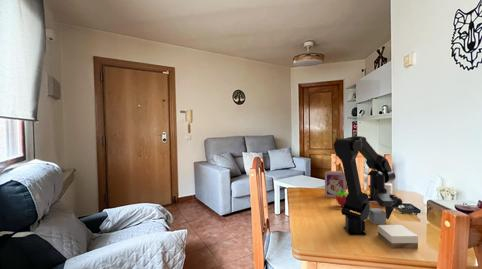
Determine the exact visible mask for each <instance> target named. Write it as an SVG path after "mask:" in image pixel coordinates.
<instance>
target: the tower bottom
mask: <svg viewBox="0 0 482 269" xmlns="http://www.w3.org/2000/svg"><path fill="white" fill-rule="evenodd" d="M377 237H378V238H379V239H380V240H381V241H382V242H384V243H385V244H386V245H387V246H388V247H389V248H391V249H397V250H398V249H400V250H402V249H405V250H407V249H410V250H411V249H412V250H415V249H416V250H417V249H419V242H418V243H391V242H390V241H389V240H387V239H386V238H385V237H384V236H383V235H381V234H380V233H379V232H378V231H377Z"/></svg>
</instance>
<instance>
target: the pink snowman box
mask: <svg viewBox="0 0 482 269" xmlns="http://www.w3.org/2000/svg"><path fill="white" fill-rule="evenodd" d="M342 188H343V189H344V192H345V193H347V192H346V191H347V184H346V179H345V174H344V172H343V170H331V171H324V196H325V197H327V198H336V194H337V193H338V192H342Z"/></svg>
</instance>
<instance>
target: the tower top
mask: <svg viewBox="0 0 482 269" xmlns="http://www.w3.org/2000/svg"><path fill="white" fill-rule="evenodd" d="M378 232H379V233H380V234H381V235H383V236H384V237H385V238H386V239H387V240H389V241H390V242H391V243H418V244H419V235H417V234H416V233H414V232H413V231H412V230H410V229H408V228H407V227H405V226H403V225H402V224H377V233H378Z"/></svg>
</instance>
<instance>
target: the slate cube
mask: <svg viewBox="0 0 482 269" xmlns="http://www.w3.org/2000/svg"><path fill="white" fill-rule="evenodd" d="M367 220H369V221H370V222H371V223H372V224H374V225H387V224H386V223H387V219H386V213H385V210H383V209H381V208H370V210H369V215H368V219H367Z"/></svg>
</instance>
